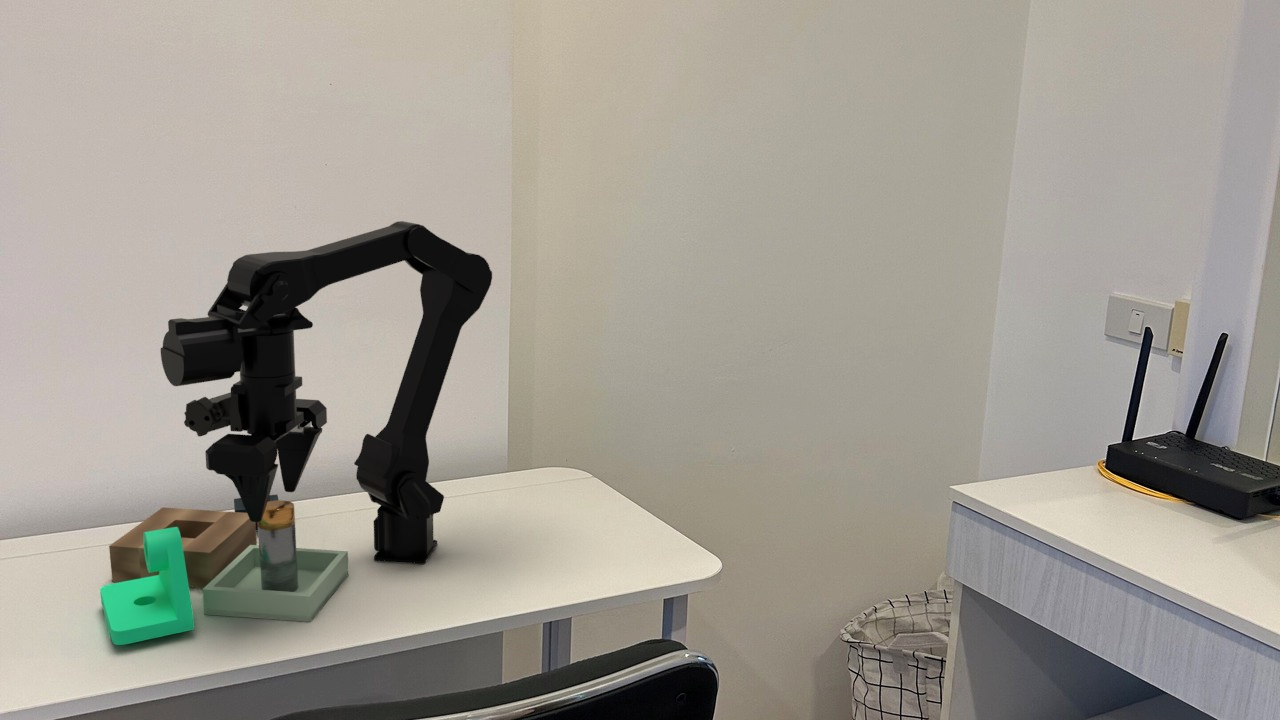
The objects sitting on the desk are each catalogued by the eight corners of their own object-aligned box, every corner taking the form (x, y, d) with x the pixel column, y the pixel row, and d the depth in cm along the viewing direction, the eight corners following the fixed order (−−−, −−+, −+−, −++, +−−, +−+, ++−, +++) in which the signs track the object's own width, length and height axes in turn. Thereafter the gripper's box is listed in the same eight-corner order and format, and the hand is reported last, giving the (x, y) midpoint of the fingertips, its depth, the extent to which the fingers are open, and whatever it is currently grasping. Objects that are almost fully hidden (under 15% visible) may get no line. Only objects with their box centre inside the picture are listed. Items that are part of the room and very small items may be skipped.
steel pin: (270, 579, 124) (265, 499, 121) (303, 581, 123) (299, 501, 121) (255, 595, 120) (250, 512, 117) (290, 597, 119) (285, 514, 117)
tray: (348, 574, 127) (347, 551, 126) (310, 621, 115) (309, 596, 115) (251, 567, 128) (250, 544, 127) (204, 614, 116) (202, 589, 116)
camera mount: (101, 607, 117) (93, 521, 115) (175, 593, 121) (168, 509, 119) (114, 656, 107) (106, 563, 105) (194, 638, 111) (188, 548, 109)
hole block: (256, 546, 134) (254, 513, 133) (212, 588, 122) (209, 552, 121) (165, 540, 135) (162, 507, 134) (112, 581, 123) (109, 545, 122)
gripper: (234, 348, 125) (241, 473, 129) (151, 389, 107) (161, 533, 110) (326, 354, 124) (330, 479, 128) (258, 395, 106) (265, 540, 110)
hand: (273, 505), depth 119 cm, fingers open, 9 cm apart
